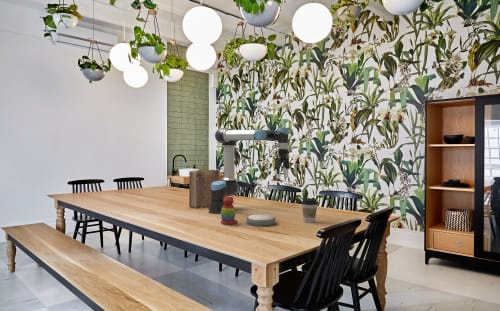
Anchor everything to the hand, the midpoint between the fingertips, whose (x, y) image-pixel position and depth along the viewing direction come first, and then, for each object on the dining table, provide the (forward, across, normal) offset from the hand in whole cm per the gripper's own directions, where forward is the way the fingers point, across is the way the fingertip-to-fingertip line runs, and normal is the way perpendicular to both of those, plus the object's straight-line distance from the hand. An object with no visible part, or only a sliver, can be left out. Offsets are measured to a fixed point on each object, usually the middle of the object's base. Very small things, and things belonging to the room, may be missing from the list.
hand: (282, 178), depth 253 cm
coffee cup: (+28, -6, -24) cm, 37 cm away
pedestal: (+28, -28, +2) cm, 40 cm away
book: (+29, +5, +74) cm, 80 cm away
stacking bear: (+29, -39, +20) cm, 53 cm away
